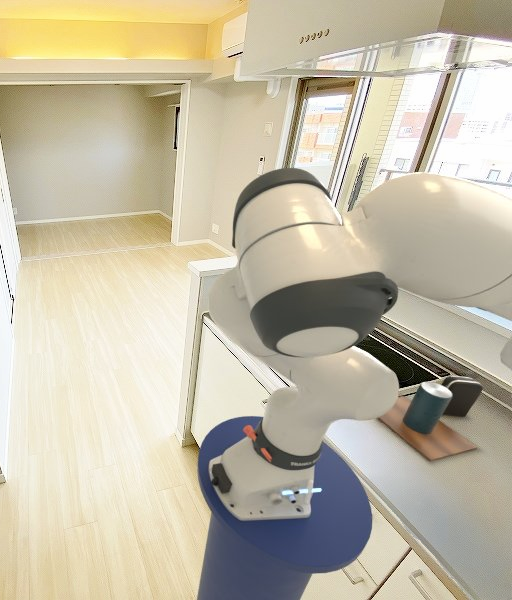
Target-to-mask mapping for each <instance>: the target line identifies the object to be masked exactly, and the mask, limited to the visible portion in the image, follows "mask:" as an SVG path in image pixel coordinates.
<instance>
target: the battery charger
mask: <svg viewBox="0 0 512 600" xmlns="http://www.w3.org/2000/svg"><path fill="white" fill-rule="evenodd" d="M440 385H442V386H444V387H446V388H447V389H449V390H450V391H451V393H452V394H453V397H452V399H451V401H450V402H449V404H448V406H447V407H446V409H445V411H444V413H443V414H442V415H444V416H445V415H446V416H452V417H453V416H454V417H462V418H466V416H467V415H468V413H469V412H470V410H471V409H472V407H473V406H474V405H475V403H476V402H477V400H478V399H479V397H480V396H481V394H482V392H483V390H484V387H483V385H482V384H481V382H478V380H476V379H475V378H473V377H468V376H459V375H448V376H446V377H445V378H444V379H443V381H442V382H441V384H440Z"/></svg>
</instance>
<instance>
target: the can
mask: <svg viewBox="0 0 512 600" xmlns="http://www.w3.org/2000/svg"><path fill="white" fill-rule="evenodd" d="M452 397H453V394H452V393H451V391H450V390H449V389H447V388H446V387H444V386H442V385H441V384H439V383H437V382H433V381H423V382H421V383H420V384H419V386H418V388H417V390H416V391H415V393H414V395H413V396H412V399H411V403H410V405H409V407H408V409H407V411H406V413H405V415H404V417H403V422H404V424H405V425H406V426H407V427H409V428H410V429H412V430H414V431H416V432H419V433H422V434H430V433H432V431H433V430H434V428H435V426H436V425H437V423H438V421H440V419H441V418H442V416H443V415H444V414H443V413H444V411H445V409H446V407H447V406H448V404H449V402H450V401H451V399H452Z"/></svg>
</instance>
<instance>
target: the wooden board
mask: <svg viewBox="0 0 512 600" xmlns="http://www.w3.org/2000/svg"><path fill="white" fill-rule="evenodd" d="M411 401H412V399H409V398H408V397H407V396H405V395H402V396H398V399H397V401H396V403H395V405H394V406H393V407H392V409H391V410H390V411H388V412H387V413H386V414H384V415H382V416H381V417H378V418H377V419H378V420H379V421H380V422H381V423H382V424H384V425H385V426H386V427H387V428H389V429H390V430H391V431H392V432H394V433H395V434H396V435H397V436H398V437H400V438H401V439H402V440H403V441H404V442H405V443H407V444H408V445H410V446H411V447H412V449H415V450H416V451H417V452H418V453H419V454H420V455H421V456H423V457H424V458H425V459H426V460H428V461H429V462H433V461H437V460H440V459H445V458H448V457H451V456H455V455H459V454H462V453H466V452H470V451H473V450H476V449H478V446H476V445H475V444H473V443H472V442H471V441H469V440H468V439H466V438H465V437H464V436H462V435H461V434H459V433H458V432H456V431H455V430H453V429H452V428H451V427H449V426H448V425H446V424H445V423H444V422H443V421H441V420H439V421H438V423H437V425H436V426H435V428H434V430H433V431H432V433H430V434H422V433H419V432H416V431H414V430H412V429H410V428H409V427H407V426H406V425H405V424H404V422H403V417H404V415H405V413H406V411H407V409H408V407H409V405H410V403H411Z"/></svg>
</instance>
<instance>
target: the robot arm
mask: <svg viewBox="0 0 512 600" xmlns="http://www.w3.org/2000/svg"><path fill="white" fill-rule="evenodd" d="M233 212H234V213H233V218H232V238H231V239H232V241H231V247H232V248H233V249H235V254H236V259H237V262H236V265H235V266H234V267H233V268H232V269H230V270H228V271H226V272H224V273H223V274H221V275H220V276H219V277H218V278H217V279H215V281H214V282H213V284H212V285H211V287H210V289H209V292H208V295H207V310H208V314H209V316H210V318H211V320H212V321H213V322H214V324H215V325H216V326H217V328H218V329H219V330H220V331H221V332H222V334H224V336H226V337H227V339H229V340H230V342H232V343H233V344H234V345H236V346H237V347H238V348H240V349H241V350H243V351H244V352H245V353H247V354H248V355H250V356H251V357H253V358H254V359H256V360H257V361H259V362H261V364H263V365H265V366H267V367H268V368H270V369H272V370H273V371H274V372H276V373H278V374H279V375H281V376H282V377H283V378H285V379H287V380H288V381H289V382H291V383H292V384H294V385H295V386H283V387H280V388H277V389H276V390H274V391H273V392H272V393H271V394H269V396H268V398H267V400H266V405H265V409H264V413H263V416H262V417H263V418H262V420H261V421H260V422H259V424H258V425H257V427H256V428H255V430H253V428H252V426H250V425H247V426H245V427H244V429H243V431H244V432H245V433H246V434H247V437H245V438H244V439H242V440H241V441H239V442H238V443H236V444H234V445H233V446H231V447H230V448H228V449H227V450H226V451H225V452H224V453H223V455H220V456H218V457H216V458H214V459H212V460H211V461H210V462H209V468H208V469H209V476H210V479H211V482H212V485H213V487H214V489H215V491H216V493H217V495H218V496H219V498H220V500H221V501H222V503H223V504H224V506H225V507H226V508H227V509H228V510H229V512H230V513H231V514H232V515H234V516H235V517H236V518H237V519H239V520H241V521H251V520H273V519H295V518H308V517H309V516H310V513H311V506H310V500H311V498H312V495H313V492H321V488H317V489H313V482H314V468H315V464H316V463H317V461H318V459H319V458H320V455H321V450H322V441H323V440H324V438H325V435H326V433H327V431H328V429H329V428H330V426H331V425H332V424H334V423H335V422H337V421H340V420H350V421H351V420H353V421H358V422H364V421H365V422H366V421H372V420H375V419H378V417H381V416H382V415H384V414H386V413H387V412H388V411H390V410H391V409H392V407H393V406H394V405H395V403H396V401H397V399H398V397H399V395H400V384H399V379H398V377H397V374H396V373H395V372H394V370H392V369H390V368H389V367H388V366H386V365H385V364H384V363H383V362H381V361H380V360H379V359H377V358H376V357H374V356H373V355H371V354H370V353H369V352H367V351H365V350H363V349H361V348H359V347H357V345H358V344H360V343H361V342H362V341H363V340H365V339H366V338H367V337H368V336H369V335H370V334H371V333H372V332H373V331H374V330H375V329H376V328H377V327H378V325H379V324H380V322H381V319H382V317H383V316H384V315H386V314H387V313H389V311H390V310H392V308H393V307H395V305H396V304H397V301H398V297H399V288H400V289H402V290H405V291H407V292H409V293H412V294H415V295H417V296H420V297H423V298H424V299H428V300H431V301H435V302H438V303H441V304H446V305H450V306H456V307H464V308H476V309H479V310H481V311H484V312H488V313H490V314H493V315H495V316H498V317H500V318H503V319H505V320H508V321H509V322H512V197H511V196H510V195H508V194H505V193H503V192H501V191H499V190H496V189H495V188H493V187H492V188H491V187H489V186H487V185H484V184H481V183H479V182H475V181H472V180H468V179H464V178H460V177H457V176H452V175H447V174H441V173H435V172H427V171H426V172H423V171H422V172H420V171H419V172H411V173H410V172H409V173H406V174H401V175H398V176H395V177H392V178H390V179H388V180H385V181H383V182H382V183H380V184H378V185H376V186H375V187H373V188H372V189H371V190H370V191H368V192H367V193H366V194H364V196H363V197H362V198H360V200H359V201H358V202H357V203H356V205H355V206H354V208H353V209H352V210H349V211H345V212H341V213H340V214H339V212H338V211H337V209H336V208H335V206H334V204H333V202H332V197H331V194H330V192H329V190H328V189H327V188H326V186H325V185H324V184H323V183H322V182H321V180H319V179H318V177H316V176H315V175H313V174H312V173H311V172H309V171H308V170H305V169H302V168H298V167H283V168H277V169H273V170H270V171H267V172H265V173H263V174H261V175H259V176H258V177H255V178H254V179H253V180H252V181H251V182H249V183H248V184H247V185H246V186H245V187H244V188H243V190H241V192H240V194H239V196H238V198H237V201H236V204H235V207H234V211H233ZM499 355H500V362H501V363H502V364H503V365H504V366H505V367H507V368H509V369H510V370H511V371H512V335H511V336H510V337H509V338H508V340H507V341H506V343H505V345H504V346H503V348H502V350H501V351H500V354H499ZM510 398H511V399H512V394H511V395H510ZM230 505H232V506H233V507H231V506H230ZM297 510H299V511H300V512H298V511H297Z"/></svg>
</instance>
